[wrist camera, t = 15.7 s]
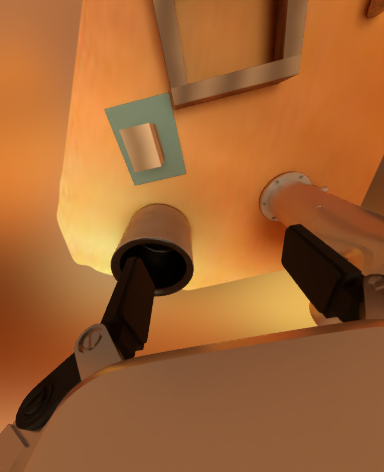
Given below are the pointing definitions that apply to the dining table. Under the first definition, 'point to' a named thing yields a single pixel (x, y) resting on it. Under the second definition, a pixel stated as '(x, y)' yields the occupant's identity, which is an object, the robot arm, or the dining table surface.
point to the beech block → (143, 146)
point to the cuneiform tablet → (375, 8)
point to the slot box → (283, 68)
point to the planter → (158, 247)
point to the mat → (163, 117)
